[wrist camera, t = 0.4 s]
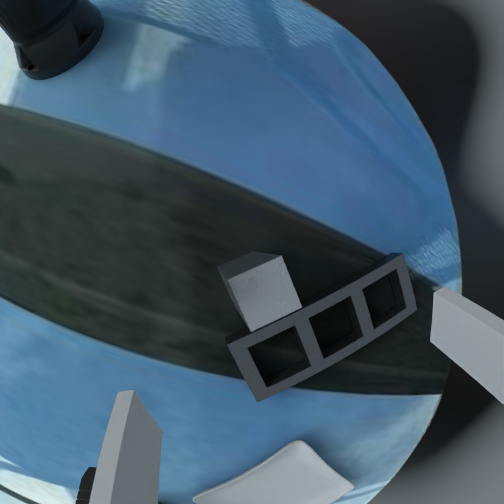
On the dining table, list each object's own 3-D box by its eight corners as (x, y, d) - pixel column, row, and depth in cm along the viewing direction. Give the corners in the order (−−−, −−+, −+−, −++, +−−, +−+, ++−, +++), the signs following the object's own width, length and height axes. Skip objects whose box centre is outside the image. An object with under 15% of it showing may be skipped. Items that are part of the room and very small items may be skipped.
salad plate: (187, 487, 34) (188, 501, 31) (294, 426, 37) (301, 439, 34) (261, 527, 37) (264, 538, 34) (349, 476, 40) (357, 486, 36)
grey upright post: (217, 266, 34) (227, 279, 22) (253, 251, 35) (281, 255, 23) (233, 302, 34) (250, 331, 22) (267, 286, 35) (301, 307, 23)
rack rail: (225, 337, 34) (227, 344, 32) (392, 252, 38) (403, 253, 36) (253, 393, 35) (257, 402, 33) (406, 306, 39) (417, 309, 37)
